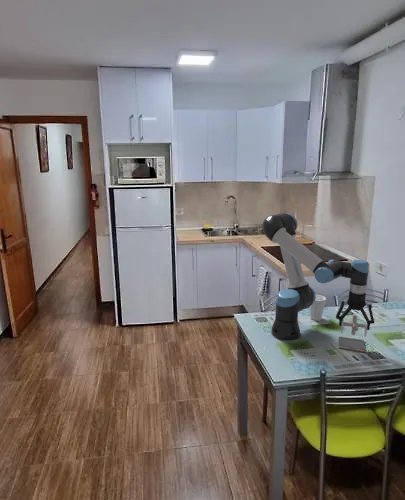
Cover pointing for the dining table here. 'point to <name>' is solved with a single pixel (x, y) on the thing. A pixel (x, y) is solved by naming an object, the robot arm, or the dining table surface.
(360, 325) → the pipe connector
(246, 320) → the dining table surface
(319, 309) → the foam cup
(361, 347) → the mat
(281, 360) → the dining table surface
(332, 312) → the dining table surface
